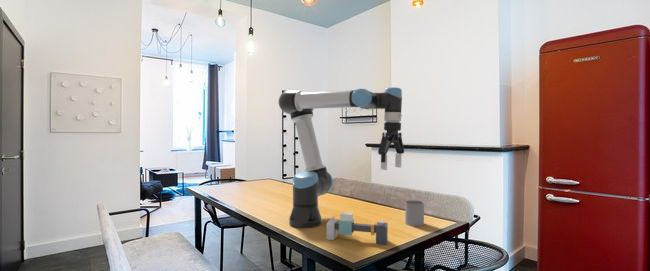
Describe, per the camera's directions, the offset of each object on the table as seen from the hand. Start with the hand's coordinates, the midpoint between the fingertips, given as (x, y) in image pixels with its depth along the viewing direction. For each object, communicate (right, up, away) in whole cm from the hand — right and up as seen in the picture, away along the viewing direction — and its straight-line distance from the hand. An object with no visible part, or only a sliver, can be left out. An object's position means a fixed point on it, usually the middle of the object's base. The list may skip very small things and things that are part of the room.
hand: (391, 168), depth 146 cm
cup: (+12, -26, +3) cm, 29 cm away
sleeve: (-22, -24, -18) cm, 37 cm away
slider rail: (-18, -26, -19) cm, 37 cm away
